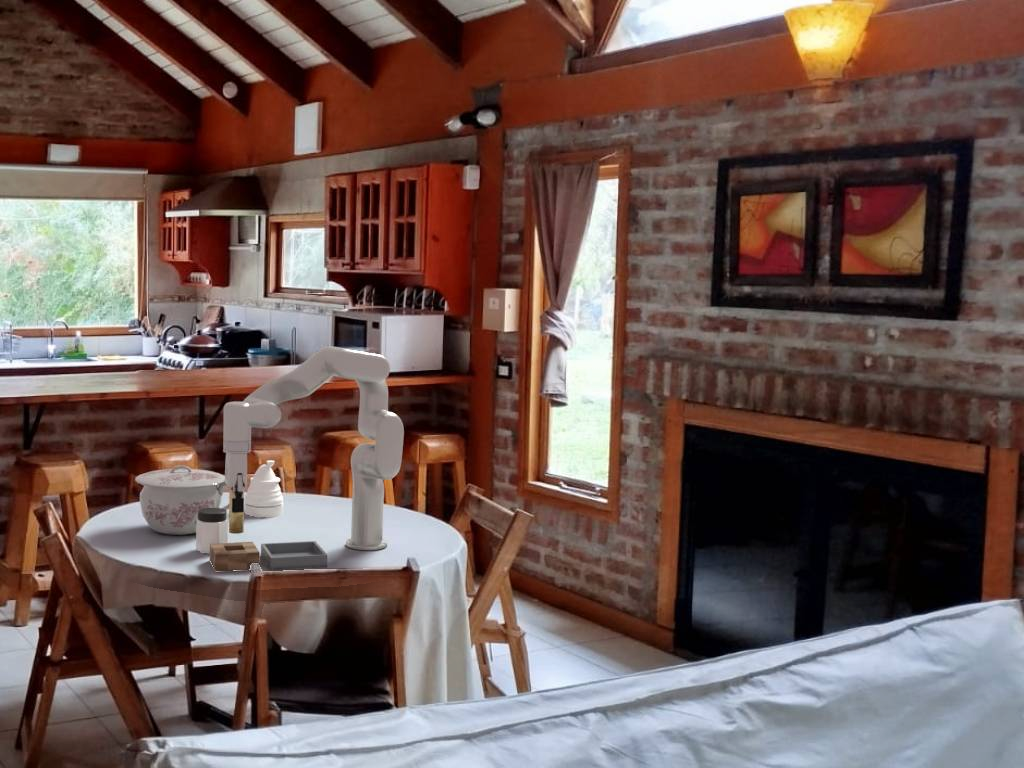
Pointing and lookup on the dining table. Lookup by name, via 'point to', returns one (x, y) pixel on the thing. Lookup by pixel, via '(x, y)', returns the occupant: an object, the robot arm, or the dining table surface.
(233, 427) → the robot arm
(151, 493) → the chamber pot
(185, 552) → the dining table surface
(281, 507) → the honey pot
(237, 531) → the brass pin
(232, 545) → the socket block
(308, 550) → the tray
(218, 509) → the jar
